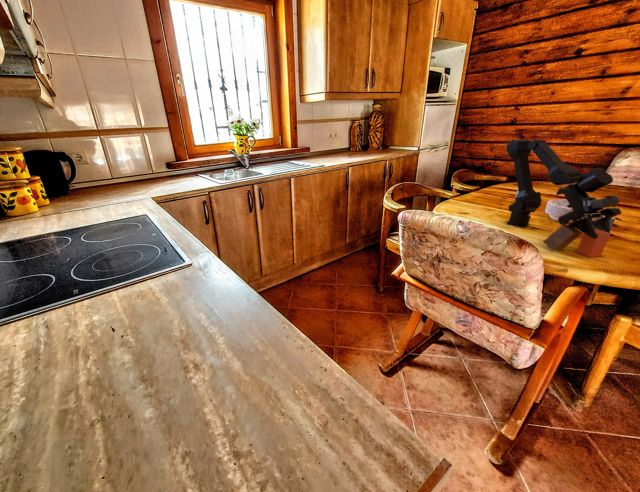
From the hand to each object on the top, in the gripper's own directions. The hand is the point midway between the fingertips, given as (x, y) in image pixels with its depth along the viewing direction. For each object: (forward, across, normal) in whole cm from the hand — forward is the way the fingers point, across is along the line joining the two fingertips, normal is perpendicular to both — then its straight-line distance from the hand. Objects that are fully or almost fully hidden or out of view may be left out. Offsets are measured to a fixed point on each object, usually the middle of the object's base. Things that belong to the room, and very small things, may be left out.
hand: (601, 237), depth 96 cm
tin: (-33, +23, +41) cm, 57 cm away
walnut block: (-1, -8, +10) cm, 13 cm away
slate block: (-4, +15, +13) cm, 20 cm away
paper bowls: (-18, +24, +27) cm, 40 cm away
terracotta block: (+4, 0, +7) cm, 8 cm away
